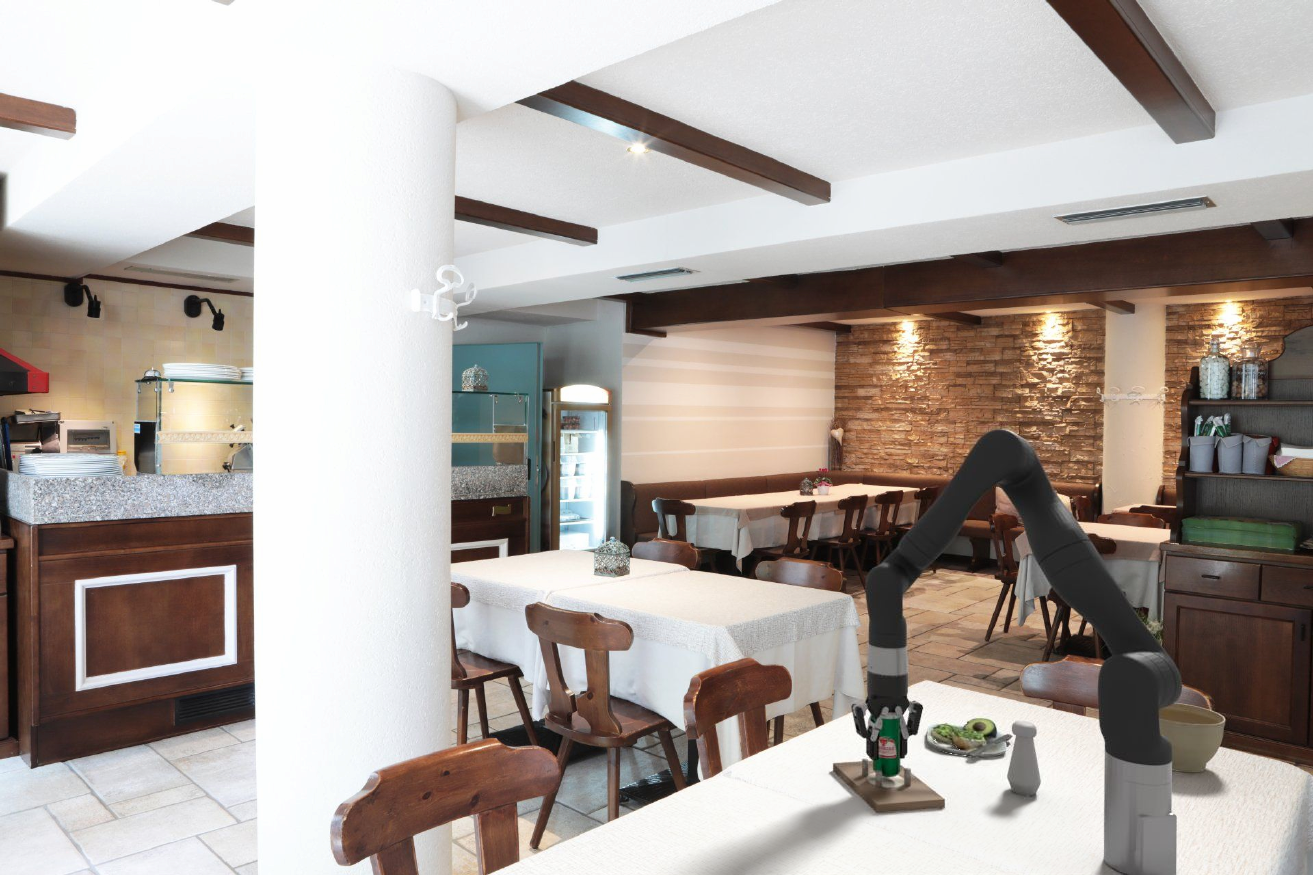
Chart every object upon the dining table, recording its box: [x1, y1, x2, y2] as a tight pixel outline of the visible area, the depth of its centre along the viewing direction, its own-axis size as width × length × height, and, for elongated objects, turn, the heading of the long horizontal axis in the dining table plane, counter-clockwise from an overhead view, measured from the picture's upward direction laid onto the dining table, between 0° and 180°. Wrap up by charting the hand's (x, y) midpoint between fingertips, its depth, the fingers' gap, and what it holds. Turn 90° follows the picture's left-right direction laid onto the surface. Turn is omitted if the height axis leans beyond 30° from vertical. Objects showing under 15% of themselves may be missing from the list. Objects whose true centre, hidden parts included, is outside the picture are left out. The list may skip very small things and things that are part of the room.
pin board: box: [832, 758, 946, 814], centre depth 165 cm, size 20×13×4 cm, turn 11°
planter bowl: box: [1159, 702, 1226, 773], centre depth 179 cm, size 16×16×11 cm
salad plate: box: [926, 717, 1013, 758], centre depth 189 cm, size 19×18×5 cm
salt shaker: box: [1006, 720, 1042, 797], centre depth 164 cm, size 6×6×13 cm
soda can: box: [873, 711, 901, 777], centre depth 165 cm, size 5×5×12 cm
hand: (886, 757), depth 165 cm, fingers closed on soda can, 5 cm apart
